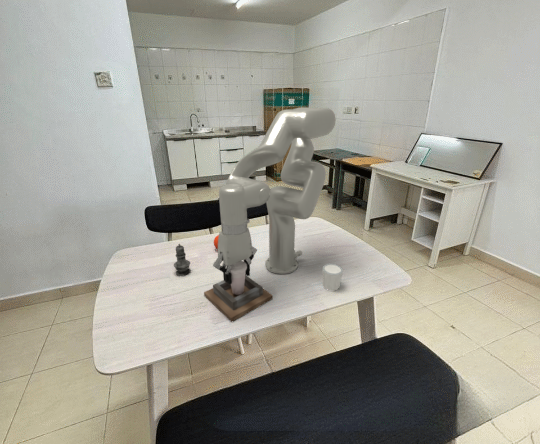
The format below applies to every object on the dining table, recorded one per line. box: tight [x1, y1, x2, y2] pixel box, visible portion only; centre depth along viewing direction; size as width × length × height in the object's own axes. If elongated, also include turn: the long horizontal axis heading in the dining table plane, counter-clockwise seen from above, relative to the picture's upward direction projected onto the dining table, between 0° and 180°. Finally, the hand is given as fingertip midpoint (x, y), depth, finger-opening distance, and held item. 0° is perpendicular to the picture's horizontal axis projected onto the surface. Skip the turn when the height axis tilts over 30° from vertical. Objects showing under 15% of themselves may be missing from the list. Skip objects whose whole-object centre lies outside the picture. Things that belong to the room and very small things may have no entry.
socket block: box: [203, 275, 274, 323], centre depth 93 cm, size 16×16×4 cm
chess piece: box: [173, 243, 191, 277], centre depth 106 cm, size 6×6×12 cm
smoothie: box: [226, 260, 247, 295], centre depth 90 cm, size 6×6×14 cm
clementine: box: [213, 234, 219, 250], centre depth 123 cm, size 8×7×7 cm
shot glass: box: [322, 263, 344, 291], centre depth 99 cm, size 7×7×7 cm
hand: (237, 277), depth 91 cm, fingers closed on smoothie, 6 cm apart
